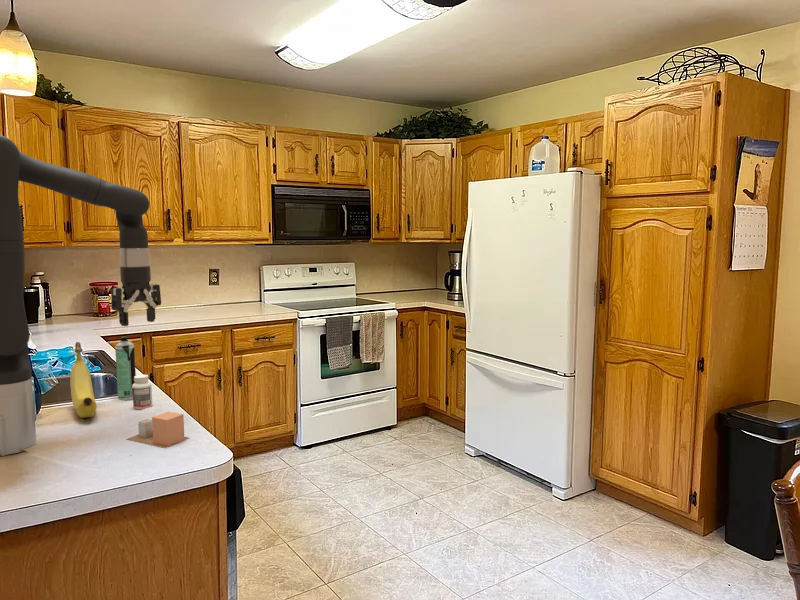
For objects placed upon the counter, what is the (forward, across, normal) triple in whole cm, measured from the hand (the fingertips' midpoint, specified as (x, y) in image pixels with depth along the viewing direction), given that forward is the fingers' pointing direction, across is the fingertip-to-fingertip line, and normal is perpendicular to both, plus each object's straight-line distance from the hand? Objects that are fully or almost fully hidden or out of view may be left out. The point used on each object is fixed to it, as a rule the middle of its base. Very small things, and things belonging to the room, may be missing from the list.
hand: (138, 323), depth 160 cm
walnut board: (+28, -9, -16) cm, 34 cm away
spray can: (+28, +15, +25) cm, 41 cm away
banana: (+28, -2, +22) cm, 36 cm away
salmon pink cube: (+27, -9, -20) cm, 35 cm away
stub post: (+27, -9, -12) cm, 31 cm away
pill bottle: (+28, +10, +12) cm, 32 cm away
